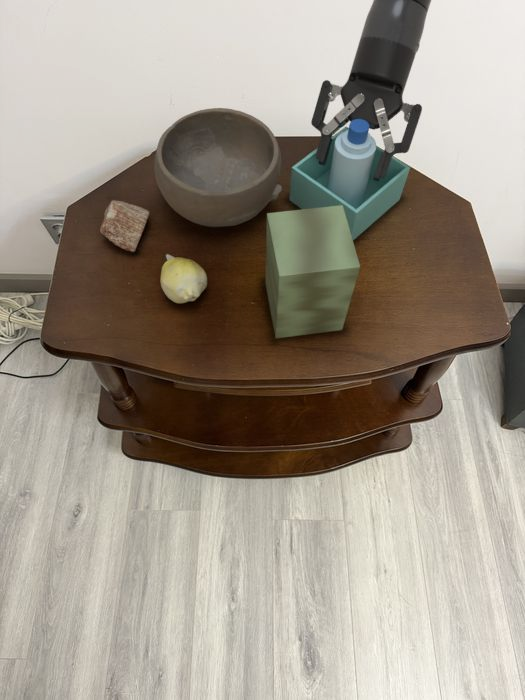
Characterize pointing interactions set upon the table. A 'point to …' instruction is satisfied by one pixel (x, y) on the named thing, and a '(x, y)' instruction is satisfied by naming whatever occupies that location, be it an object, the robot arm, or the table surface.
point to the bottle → (352, 163)
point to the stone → (124, 224)
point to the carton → (314, 193)
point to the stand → (309, 270)
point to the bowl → (218, 167)
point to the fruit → (182, 279)
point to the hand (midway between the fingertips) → (348, 172)
